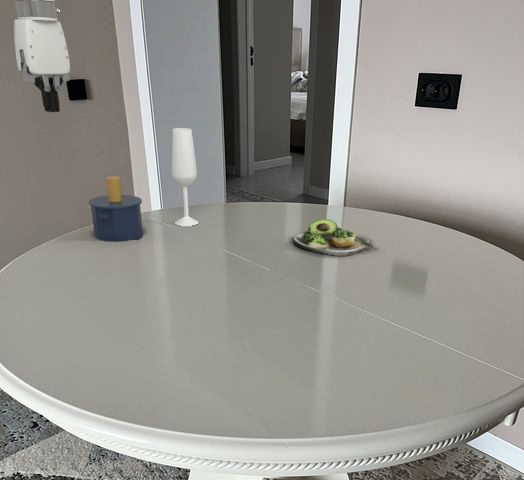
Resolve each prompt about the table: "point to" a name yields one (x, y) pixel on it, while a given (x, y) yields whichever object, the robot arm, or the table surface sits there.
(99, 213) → the pot
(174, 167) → the champagne flute
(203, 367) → the table surface
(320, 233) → the salad plate
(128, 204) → the lid
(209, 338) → the table surface
